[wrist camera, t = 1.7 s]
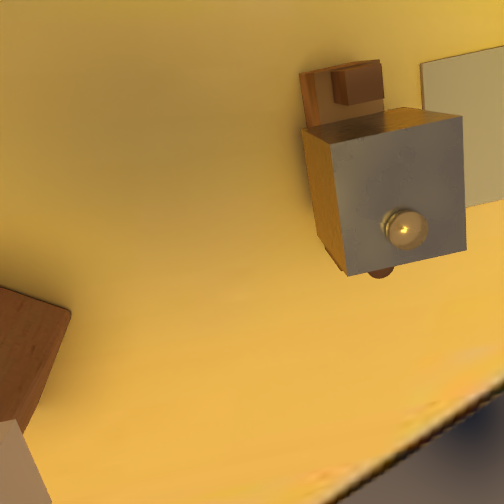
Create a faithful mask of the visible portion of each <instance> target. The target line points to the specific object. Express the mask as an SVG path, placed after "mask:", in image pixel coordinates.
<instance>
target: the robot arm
mask: <svg viewBox="0 0 504 504" xmlns="http://www.w3.org/2000/svg"><path fill="white" fill-rule="evenodd" d="M51 503H52V501H51V498H50V496H49V494H48V492H47V489H46V487H45V485H44V483H43V480H42V478H41V476H40V473H39V471H38V469H37V467H36V464H35V462H34V460H33V457H32V455H31V453H30V451H29V448H28V446H27V444H26V442H25V439H24V437H23V435H22V432H21V430H20V428H19V426H18V423H17V421H16V419H14V420H9V421H4V422H0V504H51Z"/></svg>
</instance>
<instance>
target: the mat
mask: <svg viewBox="0 0 504 504" xmlns="http://www.w3.org/2000/svg"><path fill="white" fill-rule="evenodd" d="M420 76H421V92H422V109H423V110H427V111H434V112H440V113H447V114H454V115H460V116H463V148H464V180H465V208H466V207H471V206H475V205H480V204H484V203H489V202H493V201H498V200H503V199H504V46H501V47H497V48H492V49H487V50H483V51H478V52H473V53H468V54H464V55H459V56H454V57H450V58H445V59H440V60H436V61H431V62H426V63H422V64H420Z"/></svg>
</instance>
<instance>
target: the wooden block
mask: <svg viewBox="0 0 504 504" xmlns="http://www.w3.org/2000/svg"><path fill="white" fill-rule="evenodd" d="M70 318H71V317H70V312H69V311H68V310H65V309H63V308H60V307H57V306H54V305H51V304H48V303H45V302H42V301H39V300H36V299H33V298H30V297H28V296H25V295H22V294H19V293H16V292H13V291H10V290H7V289H4V288H1V287H0V422H4V421H9V420H14V419H16V421H17V423H18V426H19V428H20V430H21V432H22V435H23V433H24V431H25V429H26V427H27V425H28V423H29V421H30V419H31V417H32V415H33V413H34V411H35V409H36V407H37V404H38V401H39V399H40V396H41V394H42V391H43V388H44V386H45V383H46V381H47V378H48V375H49V373H50V370H51V368H52V365H53V362H54V360H55V357H56V355H57V352H58V350H59V347H60V344H61V342H62V339H63V337H64V334H65V331H66V329H67V326H68V324H69V321H70Z"/></svg>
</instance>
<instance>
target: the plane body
mask: <svg viewBox="0 0 504 504" xmlns="http://www.w3.org/2000/svg"><path fill="white" fill-rule="evenodd" d="M299 77H300V83H301V90H302V97H303V103H304V110H305V117H306V124H307V128H308V127H313V126H318V125H322V124H327V123H332V122H336V121H341V120H346V119H350V118H355V117H359V116H364V115H369V114H373V113H378V112H383V111H384V104H383V98H384V89H383V78H382V66H381V63H380V60H369V61H358V62H353V63H348V64H343V65H338V66H334V67H329V68H324V69H320V70H315V71H310V72H305V73H301V74H299ZM325 249H326V251H327V252H328V254H329V255H330V256H331V258H332V259H333V261H334V262H335V263H336V265H337V266H338V268H339V269H340V270H341V271H343V270H342V268H341V267H340V266H339V264H338V263H337V261H336V260H335V259H334V257H333V256H332V255H331V253H330V252H329V250H328V249H327V248H326V246H325ZM393 269H394V266H393V267H388V268H384V269H379V270H375V271H371V272H368V273H369V275H370V276H372V277H374V278H378V279H380V278H384V277H386V276H388V275H389V274H390V273H391V272H392V271H393Z"/></svg>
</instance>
